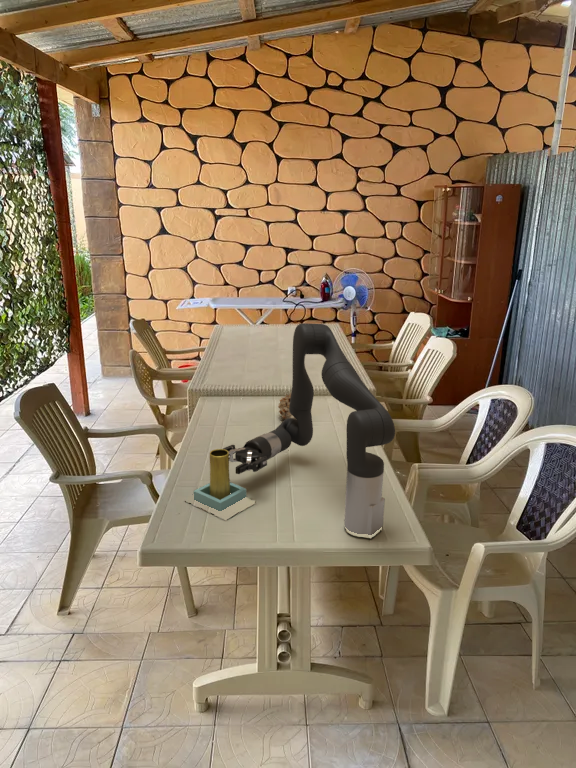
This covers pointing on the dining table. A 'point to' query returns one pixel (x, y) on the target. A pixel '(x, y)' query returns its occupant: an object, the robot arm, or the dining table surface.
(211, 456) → the vase
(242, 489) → the dock
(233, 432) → the dining table surface
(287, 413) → the pine cone
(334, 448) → the dining table surface
